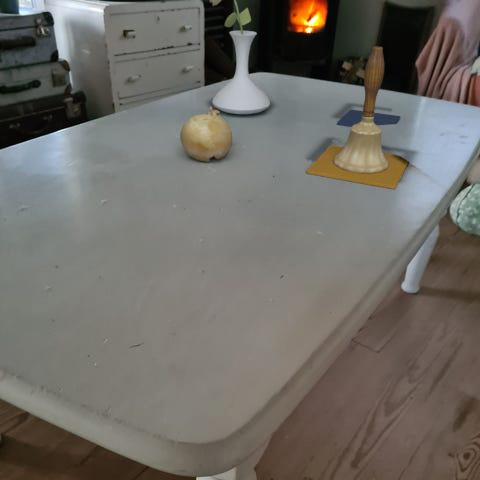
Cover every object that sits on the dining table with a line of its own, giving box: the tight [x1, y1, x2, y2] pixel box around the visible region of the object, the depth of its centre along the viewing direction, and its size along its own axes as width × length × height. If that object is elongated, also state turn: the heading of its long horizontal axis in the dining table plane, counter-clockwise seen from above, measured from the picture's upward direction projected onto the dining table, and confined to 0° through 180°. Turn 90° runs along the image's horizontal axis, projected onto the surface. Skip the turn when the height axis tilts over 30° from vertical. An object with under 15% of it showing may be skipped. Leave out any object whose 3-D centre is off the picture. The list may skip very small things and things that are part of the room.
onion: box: [179, 105, 233, 163], centre depth 79 cm, size 8×8×7 cm
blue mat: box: [336, 108, 401, 128], centre depth 99 cm, size 10×10×1 cm
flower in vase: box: [209, 0, 271, 115], centre depth 95 cm, size 13×11×25 cm
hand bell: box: [333, 45, 389, 173], centre depth 74 cm, size 8×8×16 cm
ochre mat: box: [306, 144, 410, 190], centre depth 79 cm, size 13×13×1 cm
